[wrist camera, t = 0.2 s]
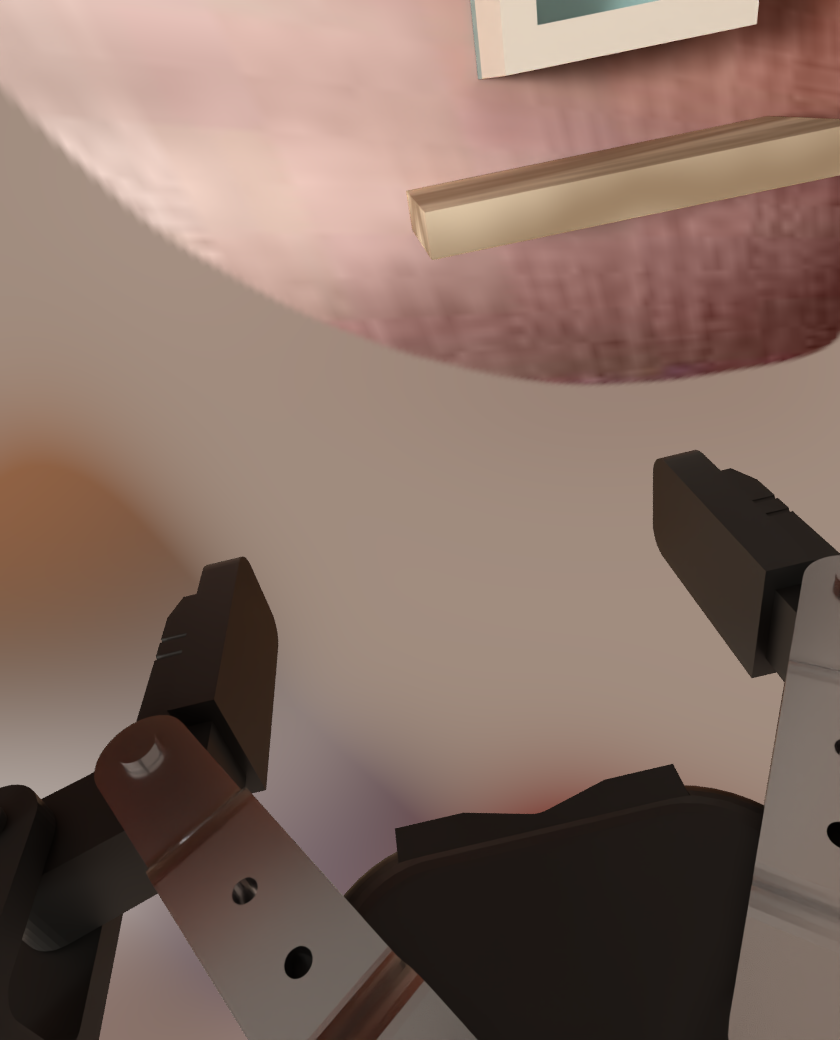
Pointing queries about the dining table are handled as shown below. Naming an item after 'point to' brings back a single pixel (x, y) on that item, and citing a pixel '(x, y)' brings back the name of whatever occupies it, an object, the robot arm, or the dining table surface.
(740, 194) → the stop board
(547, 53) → the socket block
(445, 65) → the dining table surface
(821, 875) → the robot arm
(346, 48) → the dining table surface
